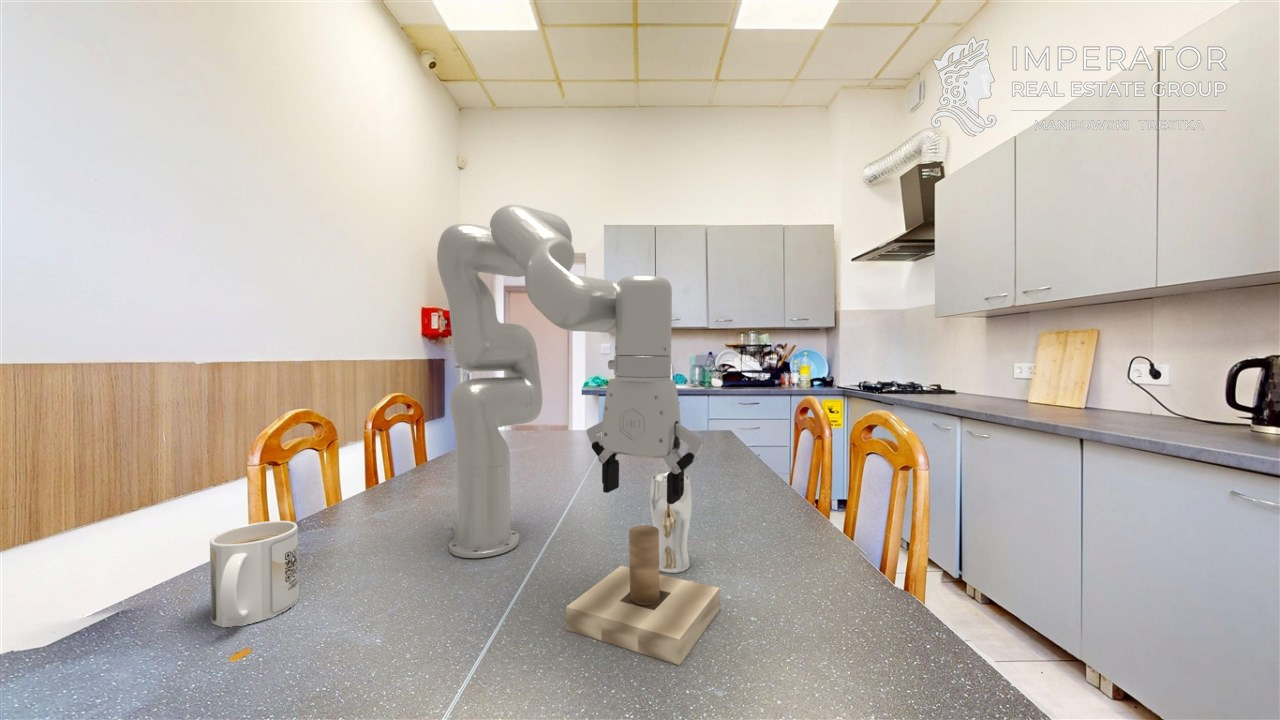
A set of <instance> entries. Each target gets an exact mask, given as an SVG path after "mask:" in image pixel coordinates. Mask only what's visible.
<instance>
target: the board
mask: <svg viewBox="0 0 1280 720" xmlns="http://www.w3.org/2000/svg"><path fill="white" fill-rule="evenodd" d="M659 582H660V600H659V602H658V607H657V608H656V609H655V610H651V609H647V608H643V607H640V606H636V605H632V602H631V601H630V566H625V565H620V566H619V567H617V568H616V569H614V570H613V571H612V572H611V573H609V574H608V575H606V576H605V577H604V578H603V579H601V580H600V581H598V582H597V583H596V584H594V585H593V586H592V587H591V588H589V589H588V590H586V591H585V592H584V593H582V594H581V595H580V596H579V597H577V598H576V599H575V600H573V601H572V602H571V603H569V604H567V606H566V607H565V610H566V611H565V613H566V614H565V615H566V616H565V617H566V618H565V619H566V622H565V623H566V625H565V628H566V631H569V632H571V633H575V634H579V635H582V636H584V637H588V638H592V639H595V640H597V641H598V640H599V641H601V642H604V643H607V644H611V645H613V646H617V647H620V648H623V649H627V650H629V651H632V652H636V653H638V654H642V655H645V656H649V657H652V658H654V659H658V660H660V661H664V662H667V663H670V664H674V665H676V666H680V665H681V664H682V663H683V662H684V660H685V659H686V657H687V656H688V654H689V653H690V652H691V651H692V649H693V647H694V646H695V645H696V644H697V642H698V641H699V639H700V638H701V636H702V635H703V634H704V632H705V631H706V630H707V628H708V627H709V625H710V624H711V622H713V619H714V618H715V617H716V616H717V614H718V613H719V611H720V610H721V597H720V595H721V588H720V587H718V586H713V585H708V584H704V583H701V582H700V583H699V582H695V581H691V580H688V579H687V580H686V579H681V578H677V577H673V576H668V575H663V574H660V573H659Z"/></svg>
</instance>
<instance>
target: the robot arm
mask: <svg viewBox="0 0 1280 720" xmlns="http://www.w3.org/2000/svg"><path fill="white" fill-rule="evenodd" d="M572 238H573V236H572V232H571V228H570V226H569V224H568V223H567V222H566V220H565V219H564V218H563V217H560V216H558V215H557V214H554V213H551V212H548V211H544V210H539V209H536V208H533V207H529V206H525V205H521V204H507V205H504V206H502V207H500V208H499V209H497V210H496V211H495V212H494V213H493V214H492V216H491V218H490V221H489V227H487V226H483V225H478V224H472V223H457V224H453V225H450V226H448V227H446V229H444V231H443V232H442V234H441V235H440V238H439V241H438V244H437V245H438V246H437V250H436V251H437V252H436V260H437V261H436V262H437V270H438V272H439V278H440V280H441V284H442V286H443V289H444V291H445V294H446V298H447V301H448V308H449V319H450V329H451V338H452V339H451V340H452V346H453V354H454V359H455V362H456V364H457V366H458V367H459V368H461V369H463V370H464V371H469V372H501V371H502V372H503V371H504V372H505V375H506V377H504V376H503V377H502V376H501V377H498V376H497V377H495V376H493V377H476V378H470V379H467V380H465V381H462V382H460V383H459V384H457V385H456V386H455V387H454V388H453V390H452V392H451V396H450V401H449V402H450V403H449V404H450V411H451V418H452V421H453V428H454V433H455V434H454V435H455V443H456V477H457V478H456V481H457V482H456V483H457V485H456V487H457V492H456V493H457V515H456V516H454V517H453V518H452V521H451V522H450V521H449V522H448V523H447V525H446V529H448V530H449V531H454V537H453V538H452V539H451V540H450V542H449V544H448V550H449V552H450V553H451V554H452V555H453V556H455V557H459V558H464V559H482V558H490V557H494V556H498V555H502V554H505V553H508V552H509V551H511V550H513V549H515V548H516V547H517V546H518V545H519V544H520V535H519V533H518V532H516V531H515V530H513V529H511V528H512V527H511V526H512V524H511V523H512V522H511V521H512V520H511V516H512V515H511V453H510V447H509V445H508V443H507V441H506V439H505V438H504V437H503V435H502V434H501V432H500V430H499V428H502V427H506V426H515V425H523V424H528V423H530V422H533V421H534V420H536V419H537V418H538V417H539V415H540V414H541V411H542V407H543V392H542V391H543V390H542V382H541V373H540V367H539V366H540V365H539V358H538V357H539V356H538V350H537V345H536V341H535V339H534V338H535V337H533V335H532V333H531V332H530V329H528V328H526V327H525V326H523V325H521V324H517V323H505V322H504V323H503V322H500V321H499V319H498V316H497V309H496V308H497V307H496V301H495V297H494V296H493V293H492V292H491V290H490V288H489V286H488V285H487V284H486V282H485V281H484V280H483V279H482V278H481V277H480V276H479V273H484V274H490V275H498V276H507V277H512V278H514V277H515V278H520V277H524V284H525V285H524V286H525V290H526V294H527V297H528V300H529V301H530V303H531V304H532V305H533V306H534V307H535V308H536V309H537V310H538V311H539V313H540V314H542V315H543V316H544V317H545V319H547V320H548V321H549V322H551V324H553V325H555V326H556V327H559V328H560V329H563V330H566V331H569V332H587V333H588V332H589V333H590V332H592V333H593V332H594V333H601V334H602V333H608V334H614V336H615V341H614V344H615V345H614V353H615V355H614V358H613V359H609V361H608V363H607V367H608V368H607V369H608V370H613V372H614V378H610V379H609V381H608V384H607V388H606V393H605V398H604V405H603V414H602V421H600V422H599V423H597V424H594V425H593V426H591V427H588V428H587V429H586V434H587V436H588V437H587V438H588V440H589V442H590V443H591V449H592V450H593V452H594V453H595V455H596V456H597V457H598V458H597V460H598V461H599V463H600V464H601V482H602V484H603V485H602V491H603V493H606V494H608V493H610V492H612V491H614V490H617V489H618V488H619V486H620V462H619V459H616V458H617V457H618V455H625V456H634V457H638V458H639V457H641V458H649V459H663V461H664V462H665V463H666V465H667V466H668V468H669V469H670V472H667V473H668V474H667V503H668V504H674V503H675V502H677V501H678V500H680V499H681V496H683V493H684V474H685V470H687V469H688V468H689V466H690V465H691V464H693V463H694V462H695V461H696V460H697V459H698V455H699V454H700V452H701V450H702V449H703V446H704V444H705V440H704V439H703V438H702V437H700V436H699V435H697V434H695V433H694V432H693V431H691V430H689V429H688V428H686V427H685V426H683V425H682V424H681V423H682V422H681V421H682V420H681V410H680V401H679V396H678V389H677V384H676V380H674V379H672V377H671V376H672V324H673V323H672V313H673V312H672V311H673V310H672V309H673V294H672V293H673V291H672V285H671V283H670V281H669V280H668V279H666V278H665V277H662V276H657V275H646V274H645V275H644V274H642V275H630V276H626V277H622V278H621V279H619V280H618V281H613V280H607V279H601V278H594V277H589V276H583V275H577V274H574V273H573V272H570V271H571V269H572V268H573V265H574V262H575V250H574V247H573V244H572V241H573V240H572ZM682 442H684V443H686V444H687V445H688V449H687V450H686V452H685V454H684V455H683V454H682V453H681V452H680V448H681V443H682Z"/></svg>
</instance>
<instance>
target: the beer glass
mask: <svg viewBox="0 0 1280 720" xmlns="http://www.w3.org/2000/svg"><path fill="white" fill-rule="evenodd" d="M668 473H669V472H661V473H656V474H653V475H651V477H650V478H651V481H650V482H651V483H650V496H649V497H650V498H649V499H650V501H649V503H650V504H649V505H650V513H651V514H650V516H651V522H652V526H654V527H656V528H658V529H659V572H661V573H667V574H679V573H682V572H685V571H687V570H688V569H689V568H690V560H689V559H690V558H689V554H688V537H689V530H690V524H691V523H690V522H691V518H692V517H691V516H692V500H693V499H692V488H691V476H689V475H688V474H686V473H684V493H683V496H681V499H680V500H678V501H677V502H675V503H674V504H668V503H667V474H668Z"/></svg>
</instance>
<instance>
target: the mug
mask: <svg viewBox="0 0 1280 720" xmlns="http://www.w3.org/2000/svg"><path fill="white" fill-rule="evenodd" d="M298 529H299V527H298V524H297V523H296V522H293V521H290V520H272V521H271V520H270V521H260V522H255V523H250V524H245V525H241V526H238V527H234V528H231V529H228V530H224V531H222V532H220V533H218V534H216V535H214V536H213V537H211V539H210V540H209V560H210V561H209V569H210V570H209V571H210V572H209V574H210V576H209V577H210V582H209V583H210V621H212V622H211V623H212V624H213V623H214V624H215V625H218V626H224V627H223V628H225V627H230V628H232V627H231V626H240V625H244V624H249V623H254V622H257V621H261V620H264V619H267V618H269V617H272V616H274V615H277V614H278V613H281V612H283V611H285V610H287V609H288V608H290V607H291V606H293V605H294V604H295V603H296V602H299V596H300V595H299V594H300V592H299V590H300V589H299V532H298V531H299V530H298ZM296 604H297V603H296ZM296 604H295V605H296ZM295 605H294V606H295ZM294 606H293V607H294ZM214 624H213V625H214ZM215 625H214V626H215ZM218 626H217V627H218Z"/></svg>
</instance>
